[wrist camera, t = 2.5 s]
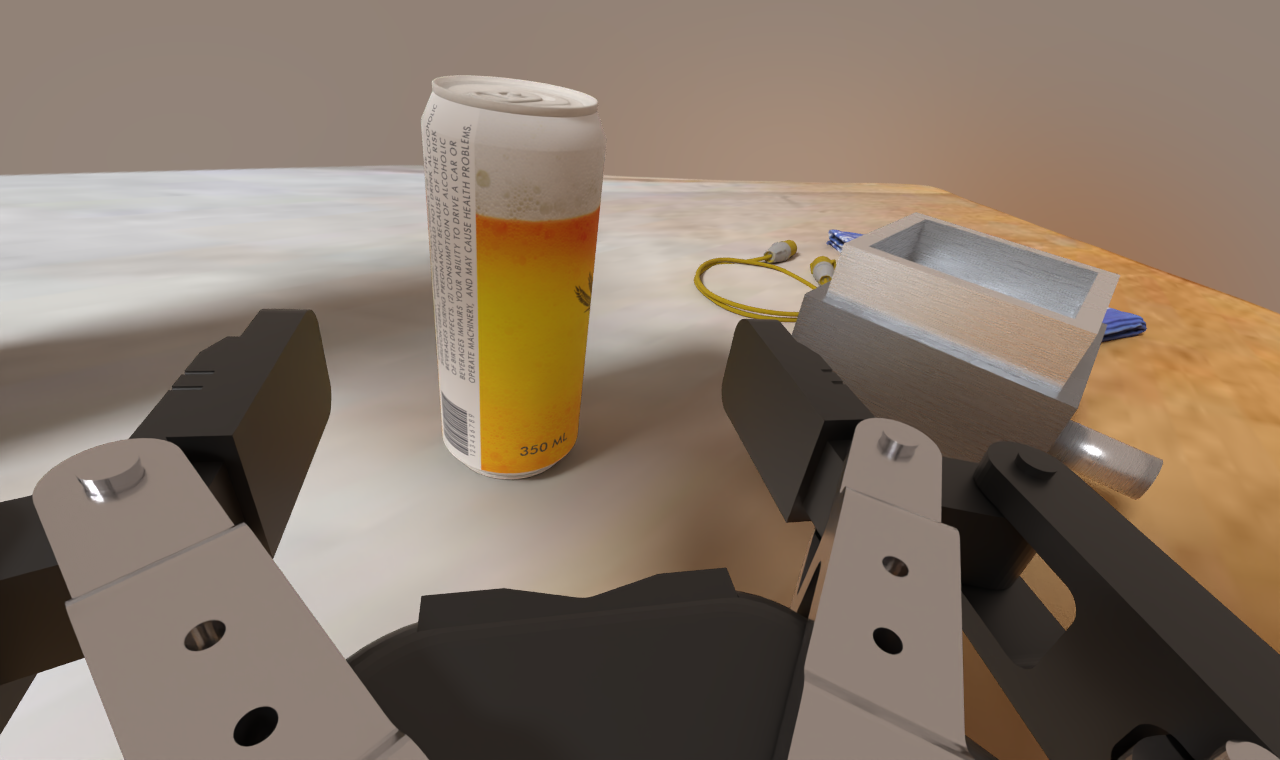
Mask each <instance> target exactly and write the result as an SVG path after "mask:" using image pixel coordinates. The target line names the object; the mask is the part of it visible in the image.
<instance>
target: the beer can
mask: <svg viewBox="0 0 1280 760" xmlns="http://www.w3.org/2000/svg"><path fill="white" fill-rule="evenodd" d="M432 90H433V91H432V93H431V96H430V98H429V101H428V103H427V106H426V108H425V111H424V113H423V115H422V118H421V127H422V142H423V155H424V171H425V186H426V201H427V215H428V230H429V245H430V259H431V274H432V289H433V304H434V318H435V333H436V348H437V363H438V377H439V392H440V407H441V422H442V435H443V440H444V443H445V445H446V447H447V449H448V450H449V451H450V453H451V454H452V455H453V456H454V457H456V458H457V459H458V460H460V461H461V462H463V463H464V464H465V465H466V466H467V467H469V468H470V469H471V470H473V471H475V472H477V473H479V474H481V475H484V476H488V477H492V478H498V479H521V478H527V477H531V476H534V475H537V474H540V473H542V472H544V471H546V470H547V469H549V468H551V467H552V466H553V465H555V464H556V463H557V462H558V461H559V460H560V459H562V458H563V457H564V456H566V455H567V454H568V453H569V452H570V450H571V449H572V448H573V446H574V444H575V442H576V439H577V434H578V425H579V415H580V405H581V394H582V384H583V374H584V364H585V354H586V344H587V334H588V324H589V313H590V303H591V293H592V283H593V273H594V263H595V253H596V242H597V232H598V222H599V212H600V202H601V192H602V182H603V171H604V161H605V151H606V141H607V139H606V136H605V133H604V130H603V127H602V123H601V120H600V117H599V114H598V111H597V110H598V101H597V100H596V99H595V98H593V97H592V96H590V95H587V94H585V93H582V92H579V91H575V90H572V89H568V88H564V87H559V86H554V85H549V84H544V83H539V82H532V81H525V80H518V79H510V78H500V77H489V76H466V75H461V76H460V75H459V76H445V77H439V78H436V79H434V80H433V81H432Z"/></svg>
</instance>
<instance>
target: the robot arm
mask: <svg viewBox="0 0 1280 760" xmlns="http://www.w3.org/2000/svg"><path fill="white" fill-rule="evenodd" d="M832 370H833V369H832V368H831V367H830V366H829V365H828V364H827V363H826V362H825V360H824V359H823V358H822V357H821V356H820V355H819V354H817V353H816V352H814V351H813V350H811V349H809V348H808V347H806V346H805V345H803V344H801V343H800V342H797V341H796V340H795V339H794V338H793V336H792V335H791V334H790V333H789V332H788V331H787V329H786V328H785V327H784V326H783V325H782V324H781V322H779V321H778V320H775V319H742V320H740V321H739V323H738V324H737V326H736V329H735V333H734V337H733V341H732V345H731V349H730V353H729V357H728V362H727V366H726V370H725V374H724V378H723V383H722V401H723V406H724V409H725V411H726V413H727V415H728V417H729V419H730V420H731V422H732V424H733V426H734V428H735V430H736V431H737V433H738V435H739V437H740V439H741V441H742V442H743V444H744V446H745V448H746V450H747V452H748V453H749V455H750V457H751V459H752V461H753V463H754V464H755V466H756V468H757V470H758V472H759V473H760V475H761V477H762V479H763V481H764V483H765V484H766V486H767V488H768V490H769V492H770V494H771V495H772V497H773V499H774V501H775V503H776V505H777V506H778V508H779V510H780V512H781V514H782V515H783V517H784V519H785V521H786V523H789V522H803V521H812V522H813V524H814V526H815V528H814V531H813V533H812V535H811V538H810V540H809V544H808V547H807V551H806V554H805V558H804V561H803V564H802V568H801V571H800V575H799V578H798V582H797V585H796V589H795V592H794V596H793V599H792V603H791V606H790V608H787V607H785V606H783V605H781V604H779V603H777V602H774V601H772V600H769V599H766V598H763V597H761V596H757V595H753V594H749V593H745V592H740V591H735V588H734V586H733V583H732V581H731V578H730V576H729V573H728V571H727V568H717V569H707V570H696V571H685V572H674V573H663V574H657V575H654V576H651V577H648V578H645V579H642V580H639V581H637V582H634V583H631V584H628V585H625V586H622V587H619V588H616V589H613V590H610V591H607V592H605V593H602V594H599V595H596V596H592V597H588V598H576V597H568V596H561V595H553V594H545V593H537V592H529V591H521V590H513V589H506V588H501V589H491V590H480V591H469V592H458V593H447V594H437V595H426V596H421V604H420V612H419V620H418V622H417V623H414V624H411V625H408V626H405V627H403V628H400V629H398V630H396V631H394V632H391V633H389V634H387V635H385V636H383V637H381V638H379V639H377V640H375V641H374V642H372V643H370V644H368V645H367V646H365V647H363V648H362V649H360V650H359V651H357V652H356V653H354V654H353V655H351V656H350V657H348V658H347V659H346V660H345V658H344V657H343V656H342V654H341V653H340V652H339V650H338V649H337V647H336V646H335V645H334V643H333V642H332V641H331V639H330V638H329V636H328V635H327V634H326V632H325V631H324V629H323V628H322V627H321V625H320V624H319V623H318V621H317V620H316V618H315V617H314V616H313V614H312V613H311V612H310V610H309V609H308V607H307V606H306V605H305V603H304V602H303V601H302V599H301V598H300V596H299V595H298V594H297V592H296V591H295V589H294V588H293V587H292V585H291V584H290V583H289V581H288V580H287V578H286V577H285V576H284V574H283V573H282V572H281V570H280V569H279V567H278V566H277V565H276V563H275V562H274V561H273V558H274V555H275V553H276V550H277V548H278V545H279V543H280V540H281V538H282V535H283V533H284V530H285V528H286V525H287V523H288V520H289V517H290V515H291V512H292V510H293V507H294V505H295V502H296V500H297V497H298V495H299V492H300V490H301V487H302V485H303V482H304V479H305V477H306V474H307V472H308V469H309V467H310V464H311V462H312V459H313V457H314V454H315V452H316V449H317V447H318V444H319V441H320V439H321V436H322V434H323V431H324V429H325V426H326V424H327V421H328V418H329V415H330V410H331V386H330V380H329V375H328V370H327V365H326V360H325V355H324V350H323V345H322V340H321V335H320V330H319V325H318V321H317V318H316V316H315V314H314V312H313V311H312V310H293V309H262V310H260V311H259V312H258V314H257V315H256V316H255V318H254V319H253V320H252V322H251V323H250V325H249V326H248V327H247V329H246V330H245V331H244V333H243V334H242V335H241V337H226V338H224V339H222V340H221V341H219V342H217V343H215V344H214V345H212V346H210V347H208V348H207V349H205V350H203V351H202V352H200V353H199V354H198V355H197V357H196V358H195V359H194V360H193V362H192V363H191V364H190V365H189V366H188V368H187V369H186V370H185V375H181V376H180V377H179V379H178V380H177V381H176V382H175V383H174V385H173V386H172V390H169V391H168V392H167V393H166V394H165V395H164V397H163V398H162V399H161V400H160V402H159V403H158V404H157V405H156V406H155V408H154V409H153V410H152V411H151V412H150V414H149V415H148V416H147V417H146V419H145V420H144V421H143V422H142V423H141V425H140V426H139V427H138V428H137V429H136V431H135V432H134V433H133V434H132V435H131V437H130V438H129V439H127V440H120V441H115V442H111V443H107V444H103V445H100V446H96V447H94V448H91V449H88V450H85V451H83V452H81V453H78V454H76V455H74V456H72V457H70V458H68V459H66V460H65V461H63V462H61V463H60V464H58V465H57V466H55V467H54V468H52V469H51V470H50V471H49V472H48V473H46V474H45V475H44V476H43V477H42V478H41V480H40V481H39V482H38V483H37V485H36V487H35V489H34V491H33V495H31V496H27V497H23V498H18V499H14V500H9V501H4V502H0V734H1V733H2V731H3V729H4V728H5V726H6V725H7V723H8V721H9V720H10V718H11V716H12V715H13V713H14V711H15V710H16V708H17V706H18V705H19V703H20V701H21V700H22V698H23V696H24V695H25V693H26V691H27V690H28V688H29V686H30V685H31V683H32V681H33V680H34V678H35V676H36V675H37V673H40V672H43V671H46V670H49V669H52V668H55V667H58V666H61V665H64V664H67V663H70V662H73V661H76V660H79V659H82V658H85V659H86V662H87V665H88V667H89V670H90V672H91V675H92V677H93V680H94V683H95V685H96V688H97V690H98V693H99V695H100V698H101V701H102V703H103V706H104V708H105V711H106V713H107V716H108V719H109V721H110V724H111V726H112V729H113V731H114V734H115V737H116V739H117V742H118V744H119V747H120V749H121V752H122V755H123V757H124V760H998V759H997V758H996V757H994V756H993V755H992V754H990V753H989V752H988V751H986V750H985V749H983V748H982V747H981V746H979V745H978V744H977V743H975V742H974V741H973V740H971V739H970V738H969V737H967V736H966V735H965V729H964V688H963V648H962V630H963V631H964V633H965V634H966V636H967V637H968V639H969V640H970V642H971V643H972V645H973V646H974V648H975V649H976V651H977V652H978V654H979V655H980V657H981V658H982V660H983V661H984V663H985V664H986V666H987V667H988V669H989V670H990V672H991V673H992V675H993V676H994V678H995V679H996V681H997V682H998V684H999V685H1000V687H1001V688H1002V690H1003V691H1004V693H1005V694H1006V696H1007V697H1008V699H1009V700H1010V702H1011V703H1012V705H1013V706H1014V708H1015V709H1016V711H1017V712H1018V714H1019V715H1020V717H1021V718H1022V720H1023V721H1024V722H1025V724H1026V725H1027V727H1028V728H1029V730H1030V731H1031V733H1032V734H1033V736H1034V737H1035V739H1036V740H1037V742H1038V743H1039V745H1040V746H1041V748H1042V749H1043V751H1044V752H1045V754H1046V755H1047V757H1048V758H1049V760H1280V655H1279V654H1278V653H1277V652H1276V651H1275V650H1274V649H1273V648H1272V647H1270V646H1269V645H1268V644H1267V643H1266V642H1265V641H1264V640H1262V639H1261V638H1260V637H1259V636H1258V635H1257V634H1256V633H1255V632H1253V631H1252V630H1251V629H1250V628H1249V627H1248V626H1247V625H1246V624H1244V623H1243V622H1242V621H1241V620H1240V619H1239V618H1238V617H1237V616H1235V615H1234V614H1233V613H1232V612H1231V611H1230V610H1229V609H1227V608H1226V607H1225V606H1224V605H1223V604H1222V603H1221V602H1220V601H1218V600H1217V599H1216V598H1215V597H1214V596H1213V595H1212V594H1211V593H1209V592H1208V591H1207V590H1206V589H1205V588H1204V587H1203V586H1202V585H1200V584H1199V583H1198V582H1197V581H1196V580H1195V579H1194V578H1192V577H1191V576H1190V575H1189V574H1188V573H1187V572H1186V571H1185V570H1183V569H1182V568H1181V567H1180V566H1179V565H1178V564H1177V563H1176V562H1174V561H1173V560H1172V559H1171V558H1170V557H1169V556H1168V555H1167V554H1165V553H1164V552H1163V551H1162V550H1161V549H1160V548H1159V547H1157V546H1156V545H1155V544H1154V543H1153V542H1152V541H1151V540H1150V539H1148V538H1147V537H1146V536H1145V535H1144V534H1143V533H1142V532H1141V531H1139V530H1138V529H1137V528H1136V527H1135V526H1134V525H1133V524H1132V523H1130V522H1129V521H1128V520H1127V519H1126V518H1125V517H1124V516H1122V515H1121V514H1120V513H1119V512H1118V511H1117V510H1116V509H1115V508H1113V507H1112V506H1111V505H1110V504H1109V503H1108V502H1107V501H1106V500H1104V499H1103V498H1102V497H1101V496H1100V495H1099V494H1098V493H1097V492H1095V491H1094V490H1093V489H1092V488H1091V487H1090V486H1089V485H1087V484H1086V483H1085V482H1084V481H1083V480H1082V479H1081V478H1080V477H1078V476H1077V475H1076V474H1075V473H1074V472H1073V471H1072V470H1071V469H1069V468H1068V467H1067V466H1066V465H1065V464H1063V463H1062V462H1060V461H1059V460H1058V459H1056V458H1054V457H1053V456H1051V455H1049V454H1047V453H1045V452H1043V451H1041V450H1039V449H1036V448H1034V447H1031V446H1028V445H1025V444H1021V443H1017V442H1010V441H999V442H995V443H993V444H991V445H990V446H989V447H988V449H987V451H986V452H985V454H984V456H983V458H982V459H981V461H980V463H974V462H969V461H964V460H958V459H953V458H947V457H942V455H941V452H940V450H939V448H938V447H937V445H936V444H935V443H934V442H933V441H932V440H931V439H930V438H929V437H928V436H926V435H925V434H923V433H922V432H920V431H919V430H917V429H915V428H913V427H911V426H909V425H907V424H904V423H901V422H898V421H895V420H891V419H885V418H876V417H875V416H874V415H873V414H872V413H871V412H870V411H869V410H868V409H867V407H866V406H865V405H864V404H863V403H862V402H861V401H860V400H859V398H858V397H857V396H856V395H855V394H854V393H853V392H852V391H851V390H850V388H849V387H848V386H847V385H846V384H843V381H842V379H841V378H840V377H839V376H838V375H837V374H836V373H835V372H832ZM1036 553H1038V554H1039V555H1040V557H1041V558H1042V559H1043V560H1044V561H1045V562H1046V563H1047V564H1048V566H1049V567H1050V568H1051V569H1052V570H1053V571H1054V572H1055V573H1056V574H1057V576H1058V577H1059V578H1060V579H1061V580H1062V581H1063V582H1064V583H1065V584H1066V586H1067V587H1068V588H1069V590H1070V591H1071V593H1072V595H1073V597H1074V600H1075V604H1076V617H1075V620H1074V622H1073V623H1072V625H1071V626H1070V627H1069V628H1068V629H1067V630H1066V631H1065V630H1064V628H1063V627H1062V626H1061V625H1060V624H1059V622H1058V621H1057V620H1056V619H1055V618H1054V616H1053V615H1052V614H1051V613H1050V612H1049V610H1048V609H1047V608H1046V607H1045V606H1044V604H1043V603H1042V602H1041V601H1040V600H1039V598H1038V597H1037V596H1036V595H1035V594H1034V592H1033V591H1032V590H1031V589H1030V588H1029V586H1028V585H1027V584H1026V583H1025V582H1024V580H1023V579H1022V578H1021V577H1020V574H1021V573H1022V572H1023V570H1024V569H1025V567H1026V566H1027V565H1028V563H1029V562H1030V561H1031V559H1032V558H1033V557H1034V555H1035V554H1036Z"/></svg>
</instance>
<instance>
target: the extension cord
mask: <svg viewBox="0 0 1280 760" xmlns="http://www.w3.org/2000/svg"><path fill="white" fill-rule="evenodd" d="M796 251H797V246H796V243H795V242H794V241H792V240H787V241H781V242H776V243H774V244H773V245H772V246H771V247H770V248H769V249H768V250H767V251H766V252H765V253H764V256H763V257H758V258H753V259H747V260H744V259H736V258H715V259H711V260H708V261H706V262H704V263H703V264H701V265H700V267H699V268H698V269H697V271H696V275H695V277H694V283H695V285H696V287H697V289H698V290H699V291H700V292H701V293H702V294H703V295H704V296H706V297H707V298H708V299H710V300H711V301H712V302H714V303H715V304H716V305H718V306H720V307H722V308H724V309H726V310H728V311H730V312H733V313H736V314H739V315H742V316H745V317H750V318H754V319H775V320H778V321H779V322H796V321H797V318H787V317H772V316H763V315H757V314H753V313H748V312H744V311H741V310H738V309H736V308H733V307H737V308H740V309H744V310H748V311H752V312H757V313H763V314H769V315H777V316H790V317H798V314H799V312H783V311H773V310H766V309H760V308H755V307H750V306H746V305H743V304H739V303H735V302H732V301H729V300H727V299H724V298H722V297H720V296H717V295H715V294H714V293H712V292H710V291H709V290H708V289H707V288H705V286H704V285H703V284H702V282H701V280H700V275H701V274H702V273H703V272H704V271H706V270H707V269H709V268H710V267H712V266H713V265H717V264H735V263H726V262H723V261H729V262H737V263H745V264H752V265H758V266H764V267H768V268H772V269H775V270H778V271H781V272H783V273H785V274H787V275H789V276H791V277H793V278H795V279H797V280H799V281H800V282H802V283H804V284H806V285H807V286H809V287H810V288H812V289H813V290H814V289H816V288H817V287H816V286H814V285H812V284H811V283H809V282H808V281H806V280H804V279H802V278H801V277H799V276H797V275H795V274H793V273H791V272H789V271H787V270H786V269H783V268H781V267H778V266H775V265H772V264H767V263H775V262H784V261H785V260H787V259H788V258H790V256H792V255H794V254H795V253H796ZM762 260H765V261H766V262H767V263H763V262H758V261H762ZM810 268H811V274H813V276H814V278H815V280H816V281H817V282H818V283H819V285H820V286H821V285H823V284H825V283H827V282H829V281H831V280H832V277H833V274H834V270H835V268H836V261H835V259H834V260H830V259H829V258H827V257H825V256H820V257H818V258H816V259H815V260H814V261H813V262H812V263H811V264H810ZM724 303H725V304H724ZM726 304H727V305H726ZM728 305H730V306H733V307H730V306H728Z"/></svg>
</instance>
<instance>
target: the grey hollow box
mask: <svg viewBox="0 0 1280 760" xmlns="http://www.w3.org/2000/svg"><path fill="white" fill-rule="evenodd" d="M1119 277H1120V275H1118V274H1115V273H1111V272H1108V271H1105V270H1102V269H1098V268H1095V267H1092V266H1089V265H1086V264H1082V263H1079V262H1076V261H1073V260H1069V259H1066V258H1063V257H1060V256H1056V255H1053V254H1050V253H1047V252H1043V251H1040V250H1037V249H1034V248H1030V247H1027V246H1024V245H1021V244H1017V243H1014V242H1011V241H1008V240H1004V239H1001V238H998V237H995V236H991V235H988V234H985V233H982V232H978V231H975V230H972V229H969V228H965V227H962V226H959V225H956V224H952V223H949V222H946V221H943V220H940V219H936V218H933V217H930V216H927V215H923V214H920V213H917V212H916V213H913V214H911V215H909V216H906V217H904V218H902V219H899V220H897V221H895V222H893V223H890V224H888V225H886V226H883V227H881V228H879V229H876V230H874V231H872V232H869V233H867V234H865V235H862V236H860V237H858V238H855V239H853V240H851V241H849V242H846V243H844V245H843V248H842V251H841V253H840V256H839V259H838V262H837V265H836V268H835V271H834V274H833V277H832V280H831V281H829V282H827V283H825V284H823V285H821V286H819V287H817V288H816V289H814V290H812V291H810V292H808V293H806V294H805V296H804V299H803V302H802V305H801V308H800V311H799V314H798V318H797V321H796V324H795V327H794V330H793V333H792V336H793V338H794V339H795V340H796V341H797V342H800V343H801V344H803V345H805V346H806V347H808V348H809V349H811V350H813V351H814V352H816V353H817V354H819V355H820V356H821V357H822V358H823V359H824V360H825V362H826V363H827V364H828V365H829V366H830V367H831V368H832V369H833V370H832V372H835V373H836V374H837V375H838V376H839V377H840V378H841V379H842V381H843V384H846V385H847V386H848V387H849V388H850V390H851V391H852V392H853V393H854V394H855V395H856V396H857V397H858V398H859V400H860V401H861V402H862V403H863V404H864V405H865V406H866V407H867V409H868V410H869V411H870V412H871V413H872V414H873V415H874V416H875V417H876V418H885V419H891V420H895V421H898V422H901V423H904V424H907V425H909V426H911V427H913V428H915V429H917V430H919V431H920V432H922V433H923V434H925V435H926V436H928V437H929V438H930V439H931V440H932V441H933V442H934V443H935V444H936V445H937V447H938V448H939V450H940V452H941V455H942V457H947V458H953V459H958V460H964V461H969V462H974V463H980V461H981V459H982V458H983V456H984V454H985V452H986V451H987V449H988V447H989V446H990V445H991V444H993V443H995V442H999V441H1010V442H1017V443H1021V444H1025V445H1028V446H1031V447H1034V448H1036V449H1039V450H1041V451H1043V452H1045V453H1047V454H1049V455H1051V456H1053V457H1054V458H1056V459H1058V460H1059V461H1060V462H1062V463H1063V464H1065V465H1066V466H1067V467H1068V468H1069V469H1071V470H1073V471H1075V472H1077V473H1079V474H1081V475H1083V476H1086V477H1088V478H1090V479H1092V480H1094V481H1096V482H1098V483H1100V484H1103V485H1105V486H1107V487H1109V488H1111V489H1113V490H1115V491H1117V492H1120V493H1122V494H1124V495H1126V496H1128V497H1130V498H1132V499H1135V500H1137V499H1138V498H1140V497H1141V496H1142V495H1143V494H1144V493H1145V492H1146V491H1147V490H1148V489H1149V487H1150V486H1151V485H1152V483H1153V482H1154V480H1155V479H1156V477H1157V476H1158V474H1159V472H1160V470H1161V467H1162V464H1163V460H1162V459H1160V458H1157V457H1155V456H1153V455H1150V454H1148V453H1146V452H1143V451H1141V450H1139V449H1137V448H1134V447H1132V446H1130V445H1127V444H1125V443H1123V442H1120V441H1118V440H1116V439H1113V438H1111V437H1109V436H1106V435H1104V434H1102V433H1100V432H1097V431H1095V430H1093V429H1090V428H1088V427H1086V426H1083V425H1081V424H1079V423H1076V422H1074V421H1072V420H1070V419H1071V417H1072V416H1073V414H1074V413H1075V412H1076V410H1077V409H1078V406H1079V403H1080V400H1081V398H1082V395H1083V392H1084V389H1085V386H1086V384H1087V381H1088V378H1089V375H1090V372H1091V370H1092V367H1093V364H1094V361H1095V358H1096V356H1097V353H1098V350H1099V347H1100V344H1101V342H1102V339H1103V336H1104V333H1105V330H1106V328H1107V324H1104V323H1102V321H1103V319H1104V316H1105V313H1106V311H1107V308H1108V306H1109V303H1110V300H1111V298H1112V295H1113V293H1114V290H1115V287H1116V285H1117V282H1118V280H1119Z"/></svg>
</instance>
